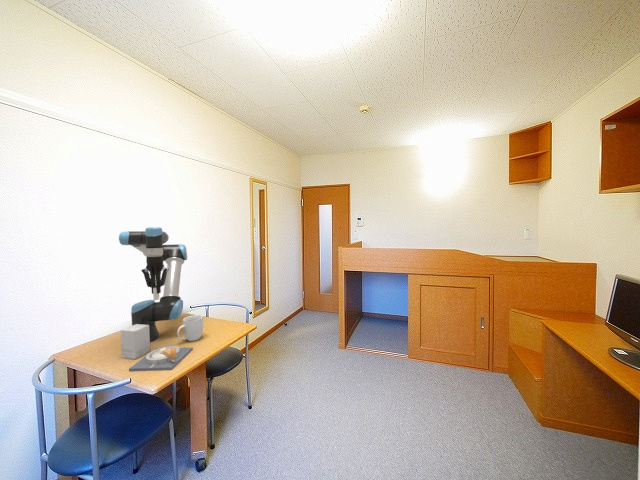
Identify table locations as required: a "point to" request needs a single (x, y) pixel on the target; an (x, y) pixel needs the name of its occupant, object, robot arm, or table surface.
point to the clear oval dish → (165, 353)
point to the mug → (192, 327)
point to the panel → (161, 366)
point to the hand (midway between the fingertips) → (156, 299)
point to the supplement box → (135, 341)
